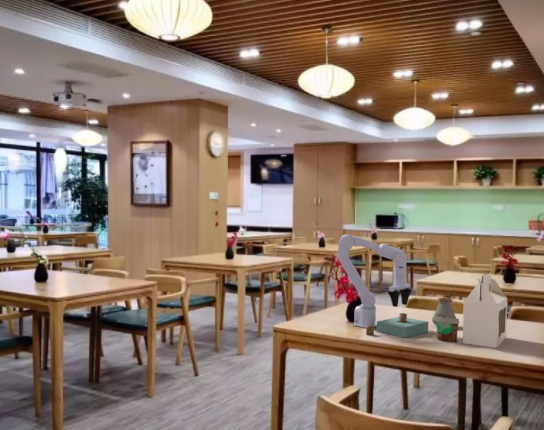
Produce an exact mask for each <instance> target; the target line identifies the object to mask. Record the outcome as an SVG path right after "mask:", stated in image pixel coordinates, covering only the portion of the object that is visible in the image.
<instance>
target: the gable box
mask: <svg viewBox="0 0 544 430" xmlns="http://www.w3.org/2000/svg"><path fill="white" fill-rule="evenodd" d="M477 280H478V282H479V283H478V284H476V285H475V286H474V288H472V290H471V291H470V293H469V294H468V295H467V297H466V298H465V300H463V315H462V316H463V317H462V318H463V321H462V323H463V324H462V344H465V345H471V344H472V345H471V346H473V345H474V346H478V345H479V346H480V347H486V348H487V347H488V348H494V349H497V348H498V347H499V345H501V343H503V341H504V340H505V339H506V338H507V325H508V324H507V323H508V321H507V320H508V319H507V318H508V316H507V315H508V297H507V296H506V294H505V293H504V291H503V290H502V288H501V287H500V285H499V283H497V281H496V280H495V279H493V278H492V273H491V272H488V273H485V274H484V275H482V276H481V277H479V278H477Z"/></svg>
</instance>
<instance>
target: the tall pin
mask: <svg viewBox="0 0 544 430" xmlns="http://www.w3.org/2000/svg"><path fill="white" fill-rule="evenodd" d="M398 315H399V316H398V317H399V322H401V323H407V318H408V317H407V315H408V314H407V313H404V312H403V313H402V312H401V313H399V314H398Z"/></svg>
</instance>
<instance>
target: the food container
mask: <svg viewBox="0 0 544 430" xmlns="http://www.w3.org/2000/svg"><path fill="white" fill-rule="evenodd" d="M435 321H436V325H437V326H436V325H435V326H436V339H437V340H438V341H441V342H445V343H457V341H458V332H459V331H458V329H459V325H460V319H459V318H456V319H452V318H450V317H444V316H442V314H437V315H436V316H435Z"/></svg>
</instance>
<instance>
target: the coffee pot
mask: <svg viewBox="0 0 544 430" xmlns="http://www.w3.org/2000/svg"><path fill="white" fill-rule="evenodd" d="M454 293H455V291H454V290H451V291H450V292H449V294H448V297H438V298H437V300H438V304H437V305H438V306H437V308H436V309H435V312H434V313H433V316H432V318H431V322H432V323H433V324H434V325H435V327H437V325H436V321H435V316H436V315H437V314H442V316H444V317H450V318H452V319H457V317H456V314H455V311H454V309H453V307H452V302H453V298H452V296H453V295H454Z"/></svg>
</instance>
